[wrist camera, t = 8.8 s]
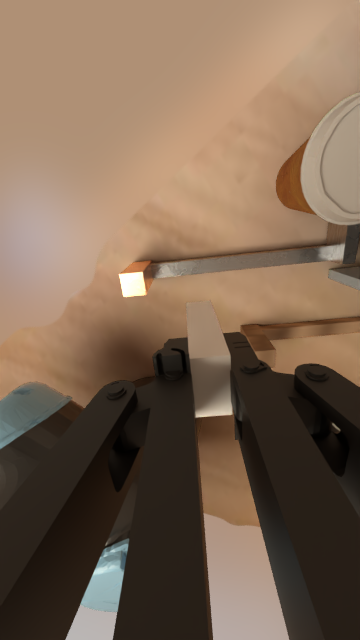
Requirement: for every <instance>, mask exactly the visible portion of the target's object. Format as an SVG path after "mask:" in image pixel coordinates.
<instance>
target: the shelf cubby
mask: <svg viewBox="0 0 360 640" xmlns="http://www.w3.org/2000/svg"><path fill="white" fill-rule="evenodd" d="M328 278H330V279H332V280H335V281H337V282H340V283H342V284H345V285H347V286H350V287H352V288H355V289H357V290H360V266H358V267H348V268H338V269H329V276H328Z"/></svg>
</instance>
